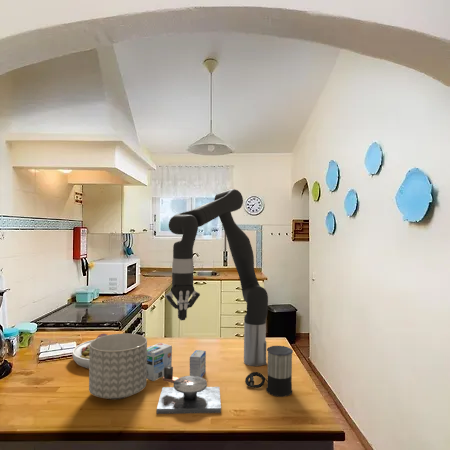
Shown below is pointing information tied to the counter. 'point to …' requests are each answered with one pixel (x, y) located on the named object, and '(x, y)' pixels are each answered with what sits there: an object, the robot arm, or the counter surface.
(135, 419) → the counter surface
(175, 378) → the handwheel
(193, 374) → the medicine box
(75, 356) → the bowl
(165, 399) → the base
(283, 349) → the milk frother
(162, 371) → the light bulb box
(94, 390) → the planter
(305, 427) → the counter surface
